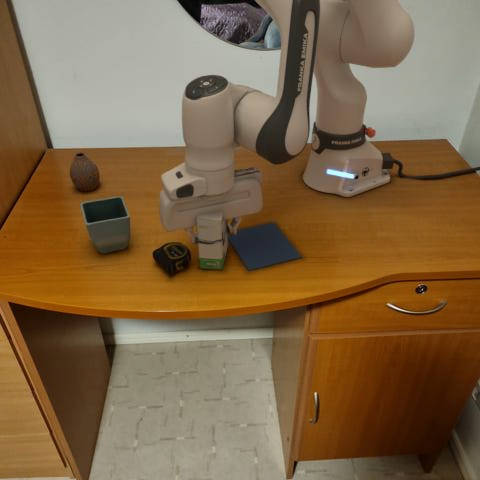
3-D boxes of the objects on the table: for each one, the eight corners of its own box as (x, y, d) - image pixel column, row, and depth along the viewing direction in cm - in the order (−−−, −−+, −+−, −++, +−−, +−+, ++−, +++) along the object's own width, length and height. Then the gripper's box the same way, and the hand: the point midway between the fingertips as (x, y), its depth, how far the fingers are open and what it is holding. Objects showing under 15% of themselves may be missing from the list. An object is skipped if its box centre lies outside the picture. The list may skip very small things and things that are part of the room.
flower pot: (128, 230, 108) (122, 194, 102) (136, 252, 102) (130, 216, 96) (89, 238, 106) (79, 202, 99) (94, 261, 100) (85, 224, 94)
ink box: (222, 270, 97) (221, 220, 89) (199, 269, 98) (195, 218, 90) (229, 245, 104) (227, 196, 95) (206, 243, 104) (203, 194, 96)
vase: (68, 191, 120) (59, 158, 114) (84, 178, 125) (76, 146, 119) (91, 196, 118) (83, 163, 112) (107, 183, 123) (100, 150, 117)
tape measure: (152, 262, 100) (149, 247, 97) (181, 251, 102) (179, 236, 100) (168, 280, 96) (165, 265, 93) (197, 267, 98) (196, 253, 96)
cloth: (273, 223, 110) (273, 221, 110) (301, 258, 101) (301, 256, 101) (224, 234, 107) (224, 233, 107) (248, 271, 98) (248, 269, 97)
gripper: (256, 157, 93) (254, 219, 102) (152, 177, 87) (161, 240, 97) (269, 172, 88) (266, 235, 98) (161, 193, 83) (169, 257, 93)
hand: (213, 237), depth 98 cm, fingers closed on ink box, 6 cm apart
